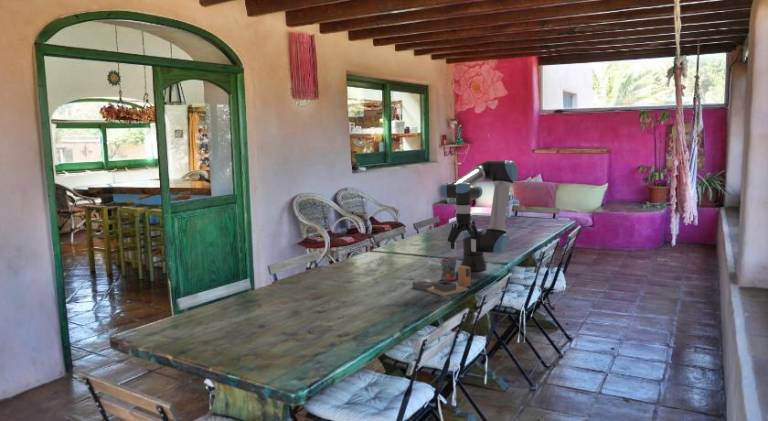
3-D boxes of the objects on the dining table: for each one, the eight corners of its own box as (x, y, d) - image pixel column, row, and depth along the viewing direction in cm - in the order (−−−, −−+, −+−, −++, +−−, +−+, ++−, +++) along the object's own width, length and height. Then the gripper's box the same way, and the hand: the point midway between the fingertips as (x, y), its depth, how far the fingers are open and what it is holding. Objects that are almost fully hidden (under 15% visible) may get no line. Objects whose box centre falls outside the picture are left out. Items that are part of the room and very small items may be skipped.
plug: (464, 283, 303) (463, 265, 302) (471, 286, 299) (471, 267, 298) (458, 285, 301) (458, 266, 300) (465, 287, 297) (465, 268, 295)
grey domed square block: (425, 283, 307) (425, 276, 306) (439, 286, 300) (439, 279, 299) (412, 287, 300) (412, 280, 299) (426, 290, 293) (426, 283, 292)
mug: (451, 282, 307) (451, 263, 305) (436, 280, 313) (436, 261, 311) (462, 277, 316) (462, 259, 315) (448, 275, 322) (448, 257, 320)
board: (447, 284, 304) (447, 276, 303) (467, 290, 291) (467, 282, 290) (423, 289, 295) (423, 281, 295) (443, 296, 282) (443, 287, 281)
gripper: (476, 209, 305) (476, 248, 308) (440, 214, 291) (440, 255, 294) (486, 211, 299) (486, 250, 302) (449, 215, 285) (450, 257, 288)
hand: (463, 253), depth 298 cm, fingers open, 13 cm apart
